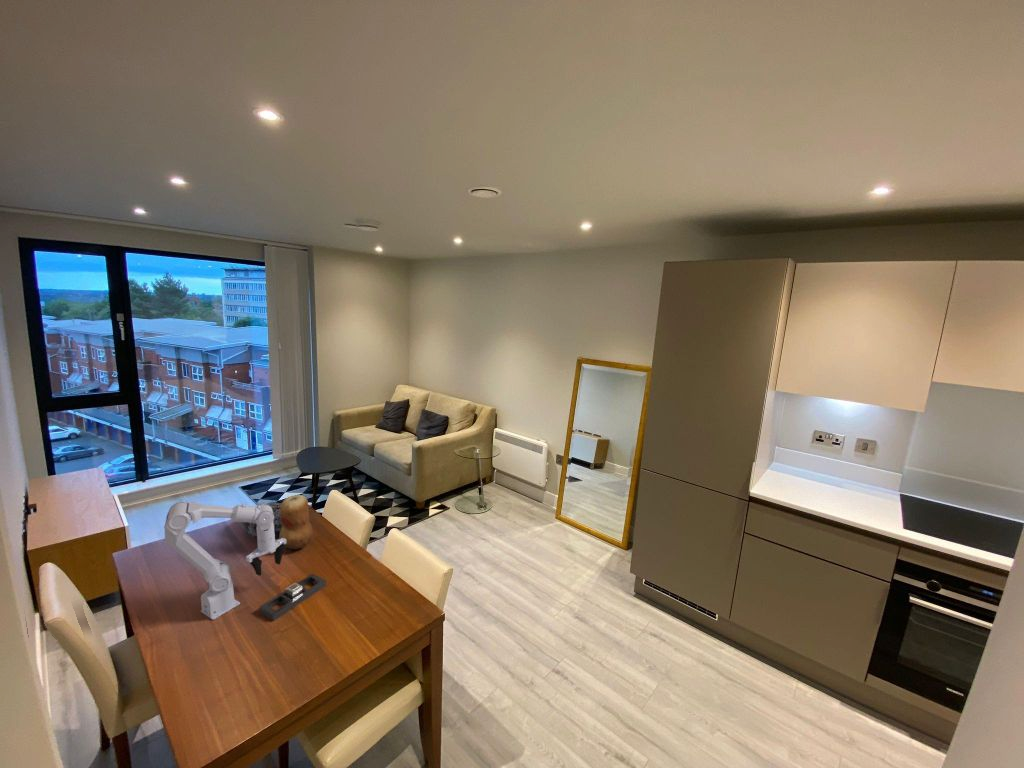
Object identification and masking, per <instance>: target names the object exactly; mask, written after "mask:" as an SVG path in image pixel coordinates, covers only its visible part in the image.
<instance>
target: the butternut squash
mask: <svg viewBox="0 0 1024 768" xmlns="http://www.w3.org/2000/svg"><path fill="white" fill-rule="evenodd" d="M281 503H282V504H281V507H280V513H281V520H282V523H283V526H282V529H281V532H280V535H279V539H281V538H285V539H286V544H284V545H285V546H286V549H288V550H289V549H290V550H296V551H297V550H298V549H301V548H305V547H306V546H308V544H309V543H310V541H311V540H312V538H313V533H314V532H313V527H312V524H311V522H310V513H309V512H310V510H309V509H310V508H309V501H308V499H307V498H306V497H305V496H304V495H301V494H294V495H291V496H287V497H285V499H284V500H282V502H281Z"/></svg>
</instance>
